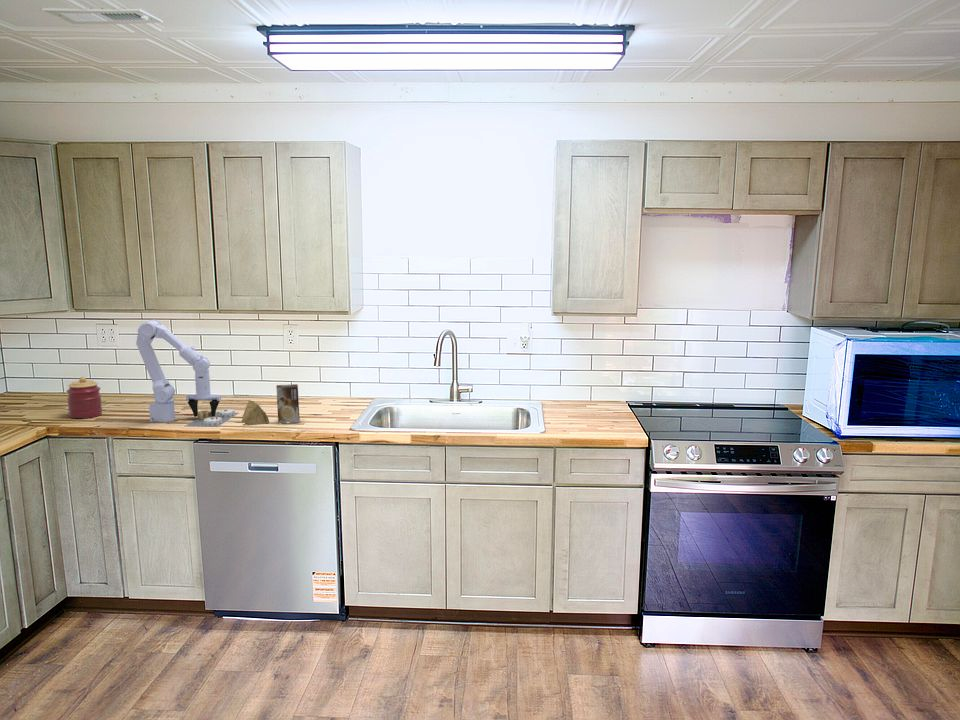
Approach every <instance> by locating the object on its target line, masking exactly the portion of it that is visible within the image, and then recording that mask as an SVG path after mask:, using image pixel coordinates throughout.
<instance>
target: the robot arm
mask: <svg viewBox="0 0 960 720" xmlns="http://www.w3.org/2000/svg"><path fill="white" fill-rule="evenodd" d="M155 338H157V339H163V340H165V341H166V342H167V343H169V345H171V346H172V347H173V348H175V349H176V350H177V351H178V353H179V357H181V358H182V359H183V360H184V361H186V363H188V364H190V366H192V369H193V371H194V372H195V373H194V378H195V379H194V380H195V381H194V382H195V394H188V395H185V400H186V401H187V404H188V406H189V407H190V409H191V410H192V411H191V412H192V414H193V416H194V418H196V417H198V414H197V413H198V410H199V409H198V406H199V405H198V403H199V401H209V406H210V411H211V416H212V417H214V416H215V413H216V412H217V409H218V406H219V403H220V402H221V401H222V396H221V395H217V394H211V384H210V383H211V381H210V370H209V369H210V366H211V363H210V360H209V359H208V358H207V357H205V356H204V355H203V354H200V353H199V352H198V351H196V349H195V347H194V346H191V345H189V344H187V345H186V344H184V343H183V342H182V341H181V339H179V338H178V337H176V335H175V334H173V332H172V331H170V330H169V329H168V327H166V326H165V324H162V323H161V322H160V321H159V320H158V319H151V320H149V321H144V322H142V323H141V324H140V326H139V327H138V329H137V335H136V340H135V341H136V342H135V343H136V346H137V349H138V351H139V355H140V357H141V358H142V361H143V363H144V366H145V367H146V370H147V373H148V374H149V377H150V380H151V382H152V390H153V391H152V392H153V399H154V400H155V401H152V402H151V403H150V404H149V407H148V409H149V410H148V411H149V423H152V422H157V423H158V422H159V423H165V422H166V423H167V422H172V421H175V420H176V413H175V412H176V411H175V399H174V396H175V395H176V389H175V387H174V386H173V385H171V383H170V381H169V380H168V379H167V378H166V377H165V374H164V371H163V370H162V366H161V365H160V362H159V359H158V358H157V355H156V353H155V351H154V348H153V346H152V342H153V341H154V339H155Z"/></svg>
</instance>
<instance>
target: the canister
mask: <svg viewBox="0 0 960 720" xmlns="http://www.w3.org/2000/svg"><path fill="white" fill-rule="evenodd" d="M78 379H79V380H76V381H72V382H71V383H70V384H68V385H67V386H68V389H67V390H66V393H67V398H66V400H67V406H68V407H67V408H68V412H67V413H68V417H69V418H70V417H71V418H70V419H73V418H85V419H91V418H90V417H92V418H96V416H97V417H99V415H100V416H101V415H102V414H103V407H102V395H101V393H100V391H101V387H100V386H98V384H99V383H98V382H96V381H94V380H92V379H87V378H86V377H85V376H80V377H79V378H78Z"/></svg>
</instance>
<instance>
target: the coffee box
mask: <svg viewBox="0 0 960 720" xmlns="http://www.w3.org/2000/svg"><path fill="white" fill-rule="evenodd" d="M275 387H276V403H277V405H276V406H277V421H278V422H277V424H278V423H286V424H288V423H287V422H301V420H300V403H299V402H300V401H299V385H298V384H295V383H294V384H276V386H275Z"/></svg>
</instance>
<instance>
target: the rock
mask: <svg viewBox="0 0 960 720" xmlns="http://www.w3.org/2000/svg"><path fill="white" fill-rule="evenodd" d="M243 412H244V413H243V415H242V417H241V419H242V420H241V423H242V426H253V425H262V424H269V423H270V420H269V416H268V415H267V413H266V412H265V411H264V409H262V408H261V406H260V405H259V404H257V402H255V401H253V400H248V402H247V404H246V406H245V408H244V411H243ZM252 424H253V425H252Z"/></svg>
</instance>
